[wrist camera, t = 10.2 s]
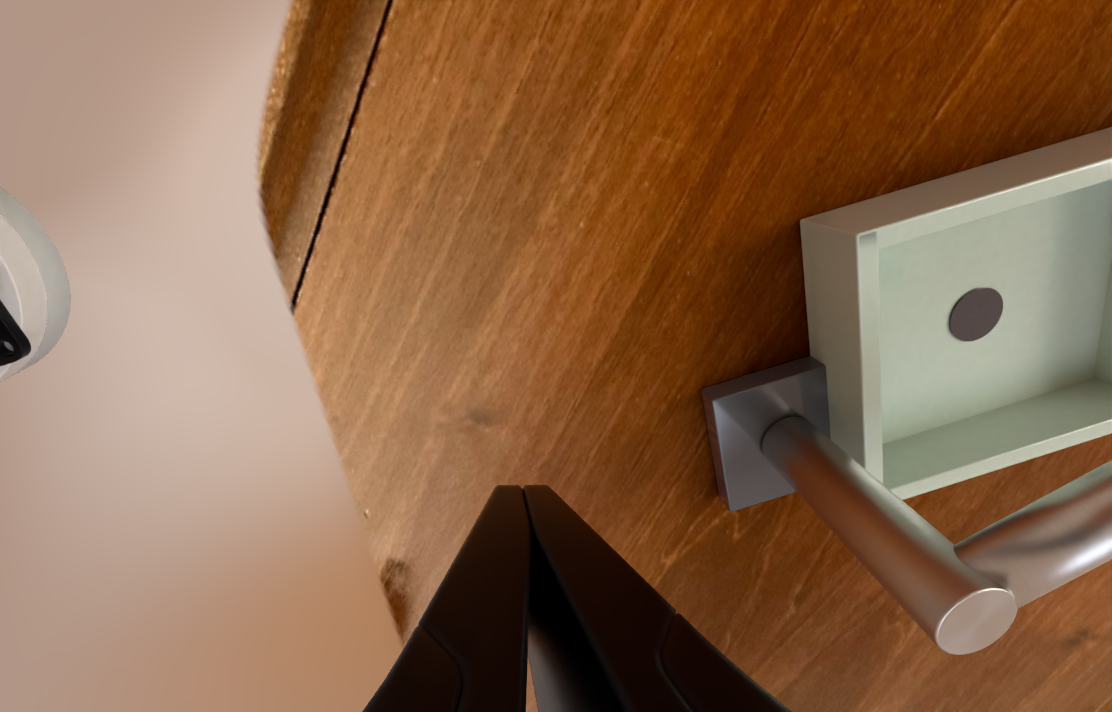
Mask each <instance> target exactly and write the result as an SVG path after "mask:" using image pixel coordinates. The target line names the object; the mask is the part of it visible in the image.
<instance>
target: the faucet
mask: <svg viewBox="0 0 1112 712" xmlns="http://www.w3.org/2000/svg"><path fill="white" fill-rule="evenodd" d="M762 450H763V454H764V456H765V458H766V459H767V460H768V461H769V462H770V463H771V464H772V465H773V466H774V468H775V469H776V470H777V471H778V472H779V473H780V474H781V475H782V476H783V477H784V479H785V480H786V481H787V482H788V483H789V484H790V485H791V486H792V487H793V488H794V489H795V491H796V492H797V493H798V494H799V495H800V496H801V497H802V498H803V499H804V500H805V501H806V503H807V504H808V505H809V506H810V507H811V508H812V509H813V510H814V511H815V512H816V514H817V515H818V516H819V517H820V518H821V519H822V520H823V521H824V522H825V523H826V524H827V526H828V527H829V528H830V529H831V530H832V531H833V532H834V533H835V534H836V535H837V536H838V538H839V539H840V540H841V541H842V542H843V543H844V544H845V545H846V546H847V547H848V549H849V550H850V551H851V552H852V553H853V554H854V555H855V556H856V557H857V558H858V559H859V561H860V562H861V563H862V564H863V565H864V566H865V567H866V568H867V569H868V570H869V571H870V573H871V574H872V575H873V576H874V577H875V578H876V579H877V580H878V581H879V582H880V584H881V585H882V586H883V587H884V588H885V589H886V590H887V591H888V592H889V593H890V594H891V596H892V597H893V598H894V599H895V600H896V601H897V602H898V603H899V604H900V605H901V606H902V608H903V609H904V610H905V611H906V612H907V613H908V614H909V615H910V616H911V617H912V619H913V620H914V621H915V622H916V623H917V624H918V625H919V626H920V627H921V628H922V629H923V631H924V632H925V633H926V634H927V635H928V636H929V637H930V638H931V639H932V640H933V641H934V643H935V644H936V645H937V646H938V647H939V648H940V649H941V650H943V651H945V652H947V653H950V654H955V655H962V654H968V653H972V652H976V651H978V650H981V649H983V648H985V647H987V646H988V645H990V644H992V643H993V642H995V641H996V640H997V639H999V638H1000V637H1001V636H1002V635H1003V634H1004V633H1005V632H1006V631H1007V630H1008V628H1009V627H1010V626H1011V624H1012V622H1013V621H1014V618H1015V616H1016V613H1017V609H1018V608H1020V607H1021V606H1023V605H1025V604H1027V603H1029V602H1031V601H1033V600H1035V599H1037V598H1039V597H1040V596H1042V595H1044V594H1046V593H1048V592H1050V591H1052V590H1054V589H1056V588H1058V587H1060V586H1061V585H1063V584H1065V583H1067V582H1069V581H1071V580H1073V579H1075V578H1077V577H1079V576H1080V575H1082V574H1084V573H1086V572H1088V571H1090V570H1092V569H1094V568H1096V567H1098V566H1100V565H1101V564H1103V563H1105V562H1107V561H1109V560H1111V559H1112V460H1111V461H1109V462H1107V463H1105V464H1103V465H1101V466H1099V467H1098V468H1096V469H1094V470H1092V471H1090V472H1088V473H1087V474H1085V475H1083V476H1081V477H1079V478H1077V479H1075V480H1074V481H1072V482H1070V483H1068V484H1066V485H1064V486H1062V487H1061V488H1059V489H1057V490H1055V491H1053V492H1051V493H1049V494H1048V495H1046V496H1044V497H1042V498H1040V499H1038V500H1036V501H1035V502H1033V503H1031V504H1029V505H1027V506H1025V507H1023V508H1022V509H1020V510H1018V511H1016V512H1014V513H1012V514H1010V515H1009V516H1007V517H1005V518H1003V519H1001V520H999V521H997V522H996V523H994V524H992V525H990V526H988V527H986V528H985V529H983V530H981V531H979V532H977V533H975V534H973V535H972V536H970V537H968V538H966V539H964V540H962V541H960V542H959V543H957V544H955V545H954V544H953V543H952V542H951V541H949V540H948V539H947V538H946V537H945V536H944V535H942V534H941V533H940V532H939V531H938V530H936V529H935V528H934V527H933V526H932V525H931V524H929V523H928V522H927V521H926V520H925V519H924V518H922V517H921V516H920V515H919V514H918V513H916V512H915V511H914V510H913V509H912V508H911V507H909V506H908V505H907V504H906V503H905V502H903V501H902V500H901V499H900V498H899V497H898V496H896V495H895V494H894V493H893V492H892V491H890V490H889V489H888V488H887V487H886V486H885V485H883V484H882V483H881V482H880V481H879V480H877V479H876V478H875V477H874V476H873V475H872V474H870V473H869V472H868V471H867V470H866V469H864V468H863V467H862V466H861V465H860V464H859V463H857V462H856V461H855V460H854V459H853V458H852V457H850V456H849V455H848V454H847V453H846V452H844V451H843V450H842V449H841V448H840V447H839V446H837V445H836V444H835V443H834V442H833V441H831V440H830V439H829V438H828V437H827V436H826V435H824V434H823V433H822V432H821V431H820V430H818V429H817V428H816V427H815V426H814V425H813V424H811V423H810V422H809V421H808V420H806V419H804V418H801V417H788V418H784V419H782V420H780V421H778V422H776V423H775V424H774V425H773V426H772V427H771V428H770V429H769V430H768V431H767V433H766V434H765V436H764V439H763V443H762Z"/></svg>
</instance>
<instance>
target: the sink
mask: <svg viewBox="0 0 1112 712" xmlns="http://www.w3.org/2000/svg"><path fill="white" fill-rule="evenodd" d="M800 232H801V244H802V257H803V270H804V282H805V295H806V308H807V320H808V333H809V346H810V356H807V357H804V358H800V359H797V360H794V361H791V362H787V363H784V364H781V365H778V366H774V367H771V368H768V369H765V370H761V371H758V372H755V373H751V374H748V375H745V376H742V377H738V378H735V379H732V380H729V381H725V382H722V383H719V384H716V385H712V386H709V387H706V388H703V389H701V392H702V398H703V404H704V410H705V416H706V421H707V427H708V433H709V439H710V444H711V450H712V456H713V462H714V468H715V473H716V479H717V485H718V491H719V497H720V498H721V500H722V501H723V503H724V504H725V506H726V507H727V509H728V510H729V511H730V512H733V511H736V510H740V509H743V508H746V507H749V506H752V505H755V504H759V503H762V502H765V501H768V500H771V499H774V498H778V497H781V496H784V495H787V494H790V493H793V492H796V491H795V489H794V488H793V487H792V486H791V485H790V484H789V483H788V482H787V481H786V480H785V479H784V477H783V476H782V475H781V474H780V473H779V472H778V471H777V470H776V469H775V468H774V466H773V465H772V464H771V463H770V462H769V461H768V460H767V459H766V458H765V456H764V454H763V450H762V443H763V439H764V436H765V434H766V433H767V431H768V430H769V429H770V428H771V427H772V426H773V425H774V424H775V423H776V422H778V421H780V420H782V419H784V418H788V417H801V418H804V419H806V420H808V421H809V422H810V423H811V424H813V425H814V426H815V427H816V428H817V429H818V430H820V431H821V432H822V433H823V434H824V435H826V436H827V437H828V438H829V439H830V440H831V441H833V442H834V443H835V444H836V445H837V446H839V447H840V448H841V449H842V450H843V451H844V452H846V453H847V454H848V455H849V456H850V457H852V458H853V459H854V460H855V461H856V462H857V463H859V464H860V465H861V466H862V467H863V468H864V469H866V470H867V471H868V472H869V473H870V474H872V475H873V476H874V477H875V478H876V479H877V480H879V481H880V482H881V483H882V484H883V485H885V486H886V487H887V488H888V489H889V490H890V491H892V492H893V493H894V494H895V495H896V496H898V497H899V498H900V499H901V500H904V499H907V498H910V497H914V496H917V495H920V494H923V493H926V492H929V491H932V490H935V489H939V488H942V487H945V486H948V485H951V484H954V483H957V482H961V481H964V480H967V479H970V478H973V477H976V476H979V475H983V474H986V473H989V472H992V471H995V470H998V469H1001V468H1005V467H1008V466H1011V465H1014V464H1017V463H1020V462H1023V461H1027V460H1030V459H1033V458H1036V457H1039V456H1042V455H1045V454H1049V453H1052V452H1055V451H1058V450H1061V449H1064V448H1067V447H1071V446H1074V445H1077V444H1080V443H1083V442H1086V441H1089V440H1092V439H1096V438H1099V437H1102V436H1105V435H1108V434H1111V433H1112V127H1109V128H1106V129H1103V130H1099V131H1096V132H1093V133H1089V134H1086V135H1082V136H1079V137H1076V138H1072V139H1069V140H1066V141H1062V142H1059V143H1056V144H1052V145H1049V146H1046V147H1042V148H1039V149H1035V150H1032V151H1029V152H1025V153H1022V154H1019V155H1015V156H1012V157H1009V158H1005V159H1002V160H999V161H995V162H992V163H988V164H985V165H982V166H978V167H975V168H972V169H968V170H965V171H962V172H958V173H955V174H951V175H948V176H945V177H941V178H938V179H935V180H931V181H928V182H925V183H921V184H918V185H915V186H911V187H908V188H904V189H901V190H898V191H894V192H891V193H888V194H884V195H881V196H878V197H874V198H871V199H868V200H864V201H861V202H857V203H854V204H851V205H847V206H844V207H841V208H837V209H834V210H831V211H827V212H824V213H820V214H817V215H814V216H810V217H807V218H804V219H801V220H800Z"/></svg>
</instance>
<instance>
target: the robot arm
mask: <svg viewBox="0 0 1112 712" xmlns="http://www.w3.org/2000/svg"><path fill="white" fill-rule="evenodd" d="M4 341H5V342H7V343H9V344H10V345H11V346H12V347H13V350H14V351H11V350H9V349H8V348H7V347H6V346H5V344H4ZM30 352H31V344H30V342H29V340H28V338H27V337H26V335H25V334H24V332H23V331H22V330H21V328H20V327H19V325H18V324H17V323H16V321H15V320H14V318H13V317H12V315H11V314H10V313H9V311H8V310H7V308H6V307H5V306H4V304H3V303H2V301H1V300H0V366H3V365H7V364H10V363H13V362H16V361H18V360H20V359H22V358H24V357H25V356H27V355H29V353H30ZM527 658H529V663H530V669H531V674H532V679H533V685H534V690H535V696H536V701H537V707H538V712H791V711H790V710H789V709H788V708H786V707H785V706H784V705H783V704H782V703H780V702H779V701H778V700H777V699H775V698H774V697H773V696H772V695H770V694H769V693H768V692H767V691H765V690H764V689H763V688H762V687H761V686H759V685H758V684H757V683H756V682H755V681H753V680H752V679H751V678H750V677H749V676H748V675H746V674H745V673H744V672H743V671H742V670H740V669H739V668H738V667H737V666H736V665H734V664H733V663H732V662H731V661H730V660H729V659H727V658H726V657H725V656H724V655H723V654H722V653H721V652H720V651H719V650H718V649H716V648H715V647H714V646H713V645H712V644H711V643H710V642H709V641H708V640H707V639H706V638H705V637H704V636H702V635H701V634H700V633H699V632H698V631H697V630H696V629H695V628H694V627H693V626H692V625H691V624H690V623H689V622H688V621H687V620H686V619H685V618H684V617H683V616H682V615H681V614H679V613H677V614H676V610H675V609H674V608H673V607H672V606H671V605H670V604H669V603H668V602H667V601H666V600H665V599H664V598H663V597H662V596H661V595H660V594H659V593H658V592H657V591H656V590H655V589H654V588H653V587H652V586H651V585H650V584H648V583H647V582H646V581H645V580H644V579H643V578H642V577H641V576H640V575H639V574H638V573H637V572H636V571H635V570H634V569H633V568H632V567H631V566H630V565H629V564H628V563H627V562H626V561H625V560H624V559H623V558H622V557H621V556H620V555H619V554H618V553H617V552H616V551H615V550H614V549H613V548H612V547H611V546H609V545H608V544H607V543H606V542H605V541H604V540H603V539H602V538H601V537H600V536H599V535H598V534H597V533H596V532H595V531H594V530H593V529H592V528H591V527H590V526H589V525H588V524H587V523H586V522H585V521H584V520H583V519H582V518H581V517H580V516H579V515H578V514H577V513H576V512H575V511H574V510H573V509H572V508H570V507H569V506H568V505H567V504H566V503H565V502H564V501H563V500H562V499H561V498H560V497H559V496H558V495H557V494H556V493H555V492H554V491H553V490H552V489H551V488H550V487H549V486H547V485H525V486H523V488H521V487H520V486H519V485H498V486H496V487H495V489H494V490H493V492H492V494H491V496H490V497H489V499H488V501H487V503H486V504H485V506H484V508H483V510H482V511H481V513H480V515H479V517H478V519H477V520H476V522H475V524H474V526H473V527H472V529H471V531H470V533H469V535H468V536H467V538H466V540H465V542H464V543H463V545H462V547H461V549H460V551H459V552H458V554H457V556H456V558H455V559H454V561H453V563H452V565H451V567H450V568H449V570H448V572H447V574H446V575H445V577H444V579H443V581H442V582H441V584H440V586H439V588H438V590H437V591H436V593H435V595H434V597H433V598H432V600H431V602H430V604H429V606H428V607H427V609H426V611H425V613H424V614H423V616H422V618H421V620H420V622H419V624H418V626H417V627H416V628H415V630H414V632H413V633H412V635H411V637H410V639H409V640H408V642H407V644H406V646H405V648H404V649H403V651H402V653H401V654H400V656H399V658H398V659H397V661H396V663H395V664H394V666H393V667H392V669H391V670H390V672H389V674H388V675H387V677H386V679H385V680H384V682H383V683H382V685H381V686H380V687H379V689H378V690H377V692H376V693H375V695H374V696H373V698H372V699H371V700H370V702H369V703H368V705H367V706H366V707H365V709H364V710H363V712H526V686H527Z"/></svg>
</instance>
